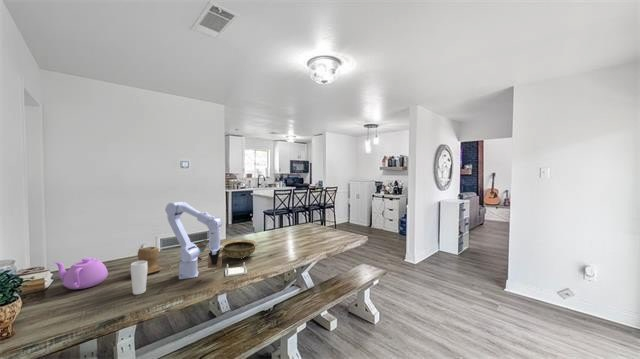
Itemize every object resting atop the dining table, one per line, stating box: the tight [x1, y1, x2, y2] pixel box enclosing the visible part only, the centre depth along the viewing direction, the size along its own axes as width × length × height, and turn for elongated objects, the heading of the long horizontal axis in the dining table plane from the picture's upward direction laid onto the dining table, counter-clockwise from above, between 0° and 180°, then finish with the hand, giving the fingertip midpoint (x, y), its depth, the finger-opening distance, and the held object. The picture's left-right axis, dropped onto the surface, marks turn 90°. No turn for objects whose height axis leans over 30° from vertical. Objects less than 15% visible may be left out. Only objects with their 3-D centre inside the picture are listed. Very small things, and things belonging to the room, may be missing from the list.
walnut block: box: [207, 253, 223, 269], centre depth 141 cm, size 7×4×6 cm, turn 111°
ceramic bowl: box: [219, 239, 259, 260], centre depth 173 cm, size 30×24×10 cm
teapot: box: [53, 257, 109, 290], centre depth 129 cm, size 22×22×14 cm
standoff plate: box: [224, 261, 248, 278], centre depth 149 cm, size 12×10×4 cm
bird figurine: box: [180, 239, 209, 261], centre depth 166 cm, size 13×10×20 cm
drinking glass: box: [130, 260, 148, 296], centre depth 122 cm, size 7×7×15 cm
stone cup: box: [137, 246, 163, 275], centre depth 145 cm, size 15×12×15 cm
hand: (214, 263), depth 141 cm, fingers closed on walnut block, 4 cm apart
